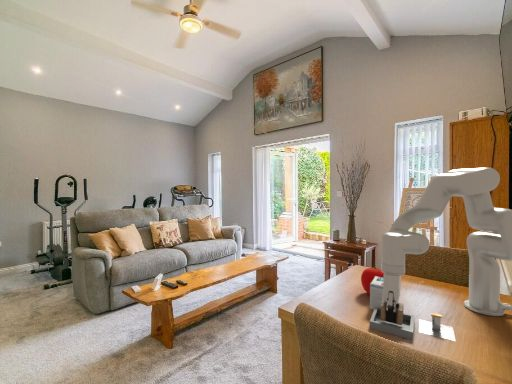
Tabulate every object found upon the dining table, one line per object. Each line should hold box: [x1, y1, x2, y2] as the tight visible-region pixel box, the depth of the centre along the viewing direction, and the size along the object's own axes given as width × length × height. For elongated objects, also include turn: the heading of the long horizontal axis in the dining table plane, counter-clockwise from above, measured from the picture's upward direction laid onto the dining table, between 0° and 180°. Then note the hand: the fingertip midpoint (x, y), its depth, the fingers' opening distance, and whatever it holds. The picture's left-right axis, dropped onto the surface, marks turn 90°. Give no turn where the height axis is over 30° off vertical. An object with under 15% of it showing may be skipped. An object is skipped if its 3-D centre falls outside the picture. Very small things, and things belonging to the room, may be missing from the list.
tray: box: [369, 307, 415, 341], centre depth 93 cm, size 13×13×4 cm
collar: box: [381, 300, 404, 325], centre depth 93 cm, size 7×7×5 cm
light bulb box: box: [369, 276, 383, 310], centre depth 110 cm, size 11×7×11 cm, turn 145°
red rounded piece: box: [360, 266, 384, 295], centre depth 121 cm, size 11×11×13 cm
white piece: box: [418, 312, 456, 342], centre depth 90 cm, size 10×10×6 cm
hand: (392, 317), depth 93 cm, fingers closed on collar, 6 cm apart
